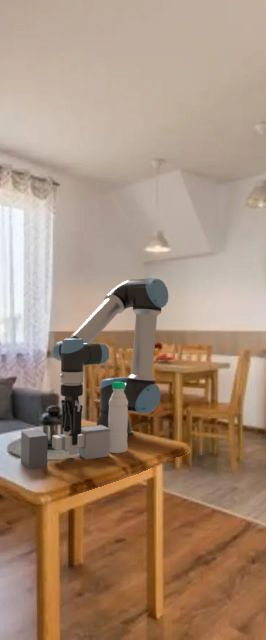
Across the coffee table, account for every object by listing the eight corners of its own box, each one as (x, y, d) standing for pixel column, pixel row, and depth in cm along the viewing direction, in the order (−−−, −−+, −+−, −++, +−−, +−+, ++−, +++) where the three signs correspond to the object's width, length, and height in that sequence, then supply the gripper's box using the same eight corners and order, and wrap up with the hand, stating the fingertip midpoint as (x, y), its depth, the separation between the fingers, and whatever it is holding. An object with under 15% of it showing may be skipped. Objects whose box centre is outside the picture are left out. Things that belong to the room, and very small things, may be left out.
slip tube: (102, 441, 166) (102, 429, 166) (107, 444, 163) (108, 432, 163) (51, 447, 157) (52, 435, 157) (56, 450, 153) (56, 438, 153)
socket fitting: (38, 458, 157) (38, 429, 157) (47, 466, 149) (47, 435, 149) (20, 461, 154) (21, 431, 154) (28, 469, 146) (29, 437, 146)
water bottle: (124, 454, 164) (126, 383, 164) (105, 453, 165) (106, 382, 165) (129, 449, 171) (130, 381, 171) (110, 447, 172) (111, 380, 172)
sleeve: (101, 450, 168) (101, 424, 168) (109, 456, 162) (110, 428, 162) (77, 454, 163) (78, 427, 163) (85, 459, 157) (86, 431, 157)
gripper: (52, 381, 164) (51, 447, 164) (71, 387, 149) (69, 460, 149) (72, 380, 167) (71, 444, 167) (92, 386, 152) (91, 457, 153)
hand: (70, 452), depth 158 cm, fingers closed on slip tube, 4 cm apart
